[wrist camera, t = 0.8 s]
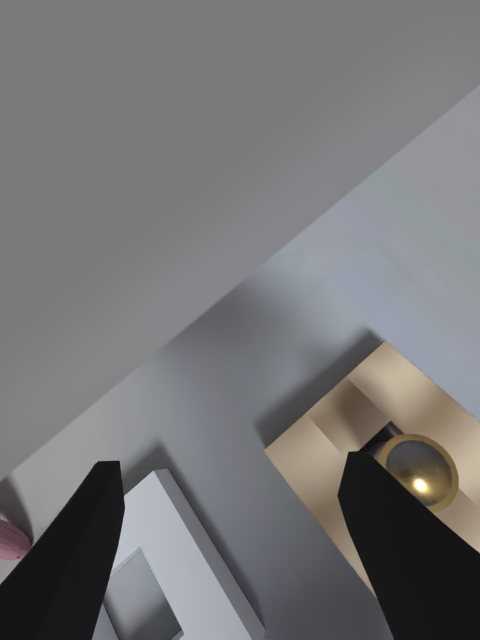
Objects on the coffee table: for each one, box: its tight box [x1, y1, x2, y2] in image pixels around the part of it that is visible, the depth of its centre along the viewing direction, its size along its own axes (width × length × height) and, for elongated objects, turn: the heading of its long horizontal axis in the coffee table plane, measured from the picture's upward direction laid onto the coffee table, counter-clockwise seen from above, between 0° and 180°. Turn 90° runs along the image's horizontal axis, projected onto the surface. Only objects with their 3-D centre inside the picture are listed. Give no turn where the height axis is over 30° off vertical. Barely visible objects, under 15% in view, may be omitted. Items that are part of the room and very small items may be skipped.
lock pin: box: [367, 434, 459, 513], centre depth 19 cm, size 4×4×7 cm
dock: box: [92, 468, 266, 640], centre depth 21 cm, size 12×12×2 cm
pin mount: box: [264, 341, 480, 600], centre depth 21 cm, size 12×12×2 cm
